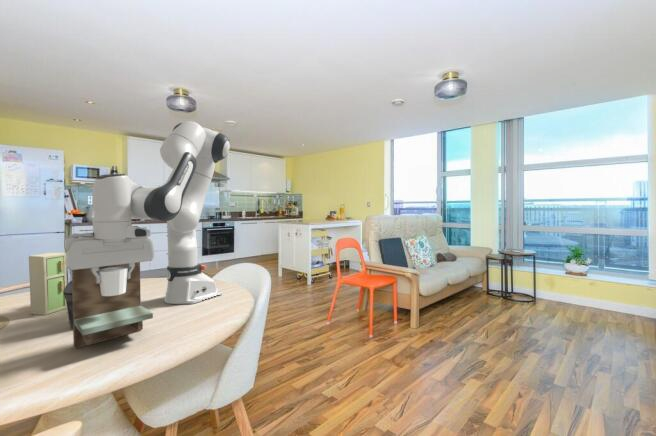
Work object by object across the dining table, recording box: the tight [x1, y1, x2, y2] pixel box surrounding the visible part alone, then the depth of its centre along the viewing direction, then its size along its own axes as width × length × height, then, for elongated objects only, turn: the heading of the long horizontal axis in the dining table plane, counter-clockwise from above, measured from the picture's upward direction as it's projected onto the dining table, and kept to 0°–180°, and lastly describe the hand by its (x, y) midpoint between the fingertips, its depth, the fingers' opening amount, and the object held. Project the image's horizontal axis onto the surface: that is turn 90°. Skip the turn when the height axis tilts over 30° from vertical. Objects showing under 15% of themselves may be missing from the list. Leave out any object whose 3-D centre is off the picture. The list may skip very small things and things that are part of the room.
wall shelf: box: [71, 262, 154, 349], centre depth 86 cm, size 16×12×22 cm
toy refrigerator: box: [28, 252, 68, 316], centre depth 111 cm, size 8×7×21 cm
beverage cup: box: [64, 280, 73, 331], centre depth 97 cm, size 7×7×20 cm
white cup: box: [98, 267, 128, 296], centre depth 85 cm, size 7×7×7 cm
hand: (113, 280), depth 85 cm, fingers closed on white cup, 5 cm apart
